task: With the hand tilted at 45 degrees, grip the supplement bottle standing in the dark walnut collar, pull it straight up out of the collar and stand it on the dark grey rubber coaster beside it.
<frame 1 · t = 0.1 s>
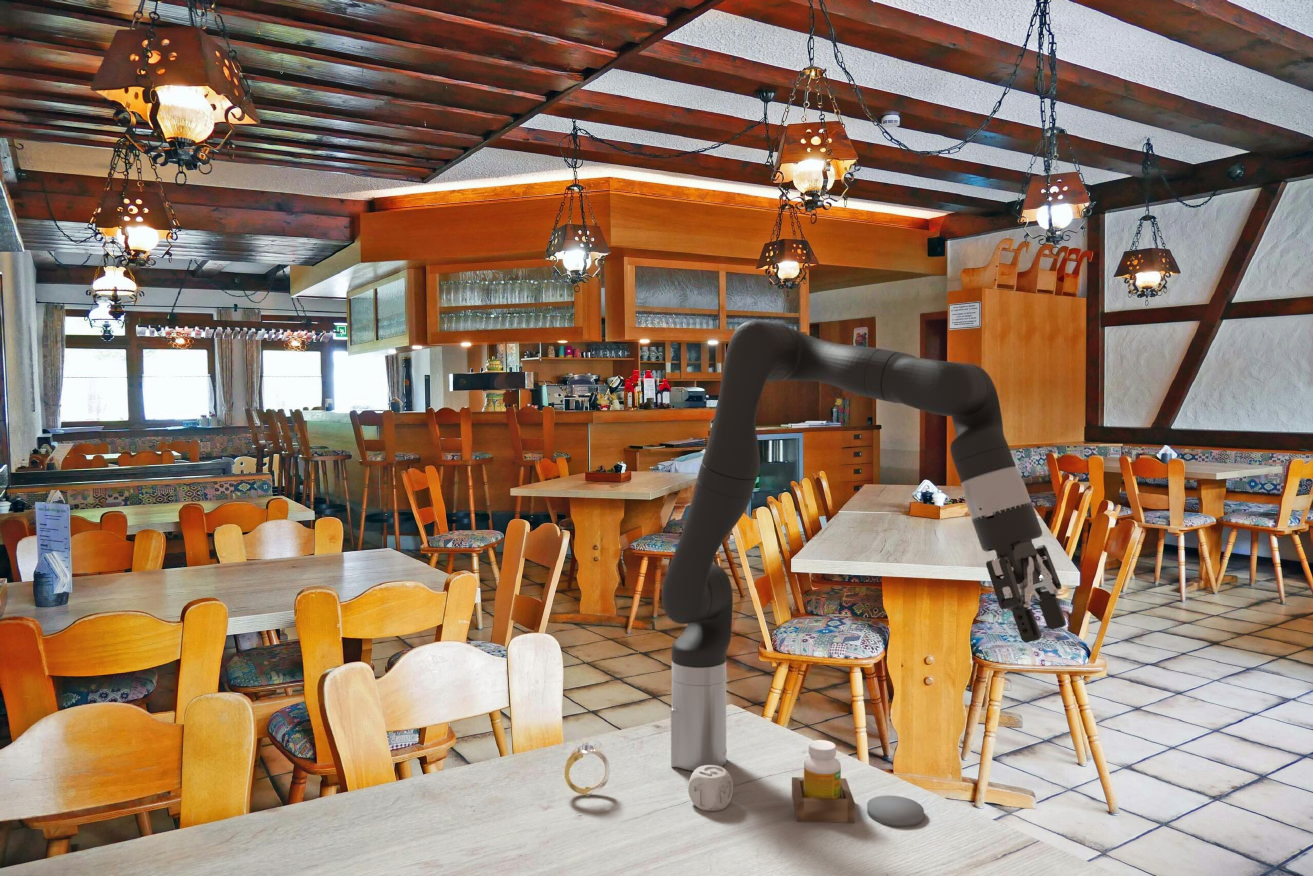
hand: (1045, 634, 109), 31 cm above the table, tool tilted 20°, fingers open, 8 cm apart
die: (710, 805, 133), on the table
supplement bottle: (822, 810, 131), resting in walnut collar
walnut collar: (822, 809, 131), on the table
rubber coaster: (895, 814, 129), on the table
ring: (587, 796, 136), on the table
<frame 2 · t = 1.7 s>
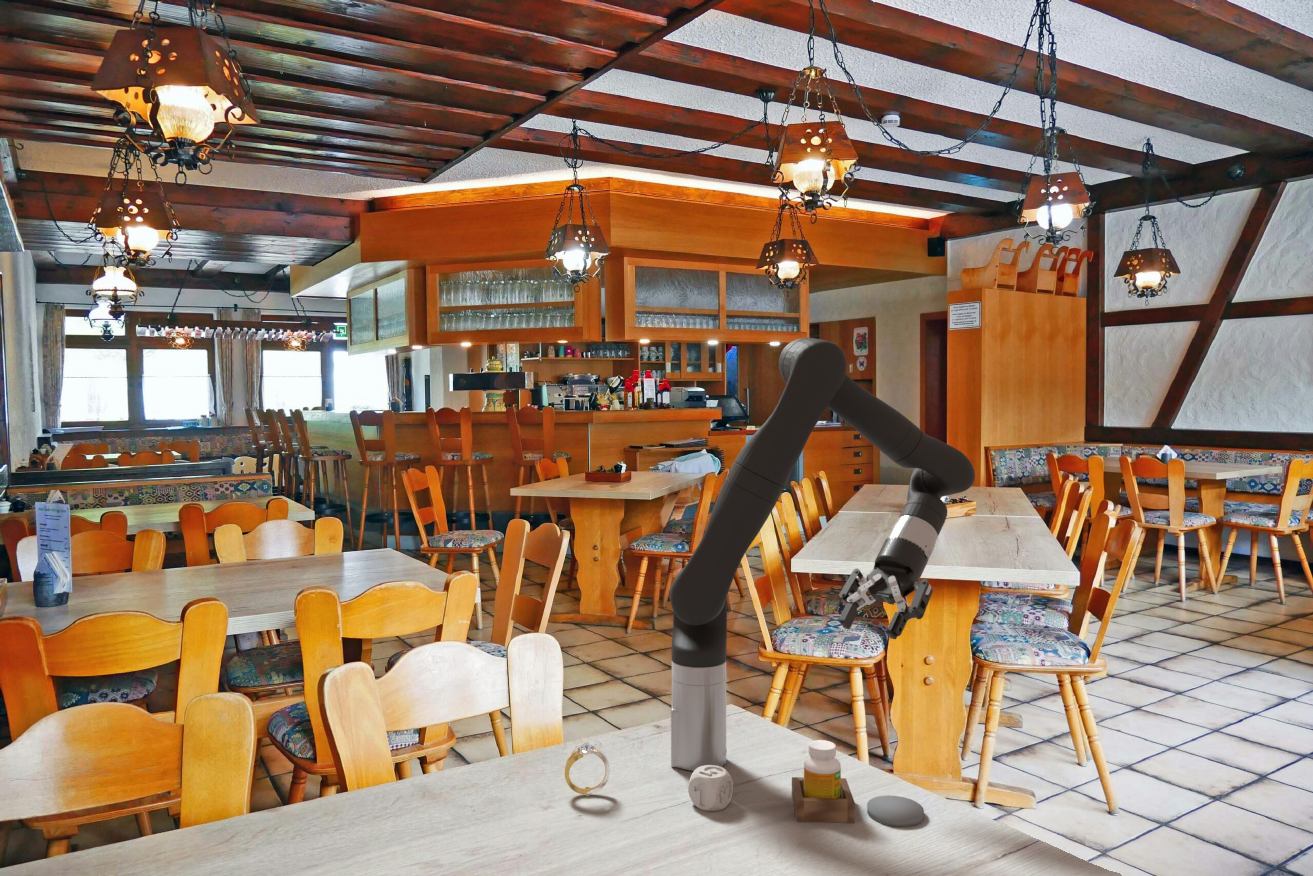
hand: (867, 631, 138), 25 cm above the table, tool tilted 45°, fingers open, 8 cm apart
nothing on the table moved.
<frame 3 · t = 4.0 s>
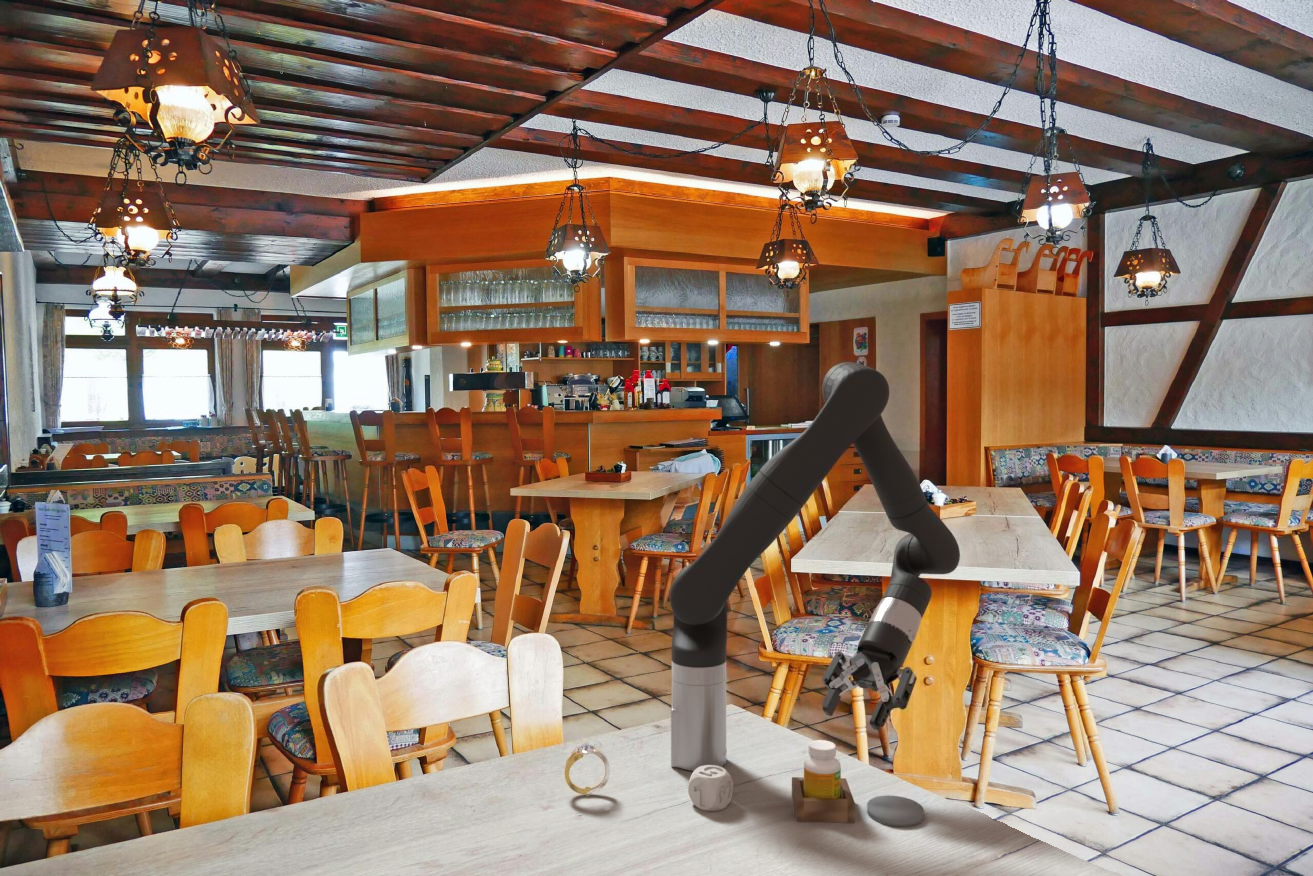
hand: (849, 720, 135), 12 cm above the table, tool tilted 45°, fingers open, 8 cm apart
nothing on the table moved.
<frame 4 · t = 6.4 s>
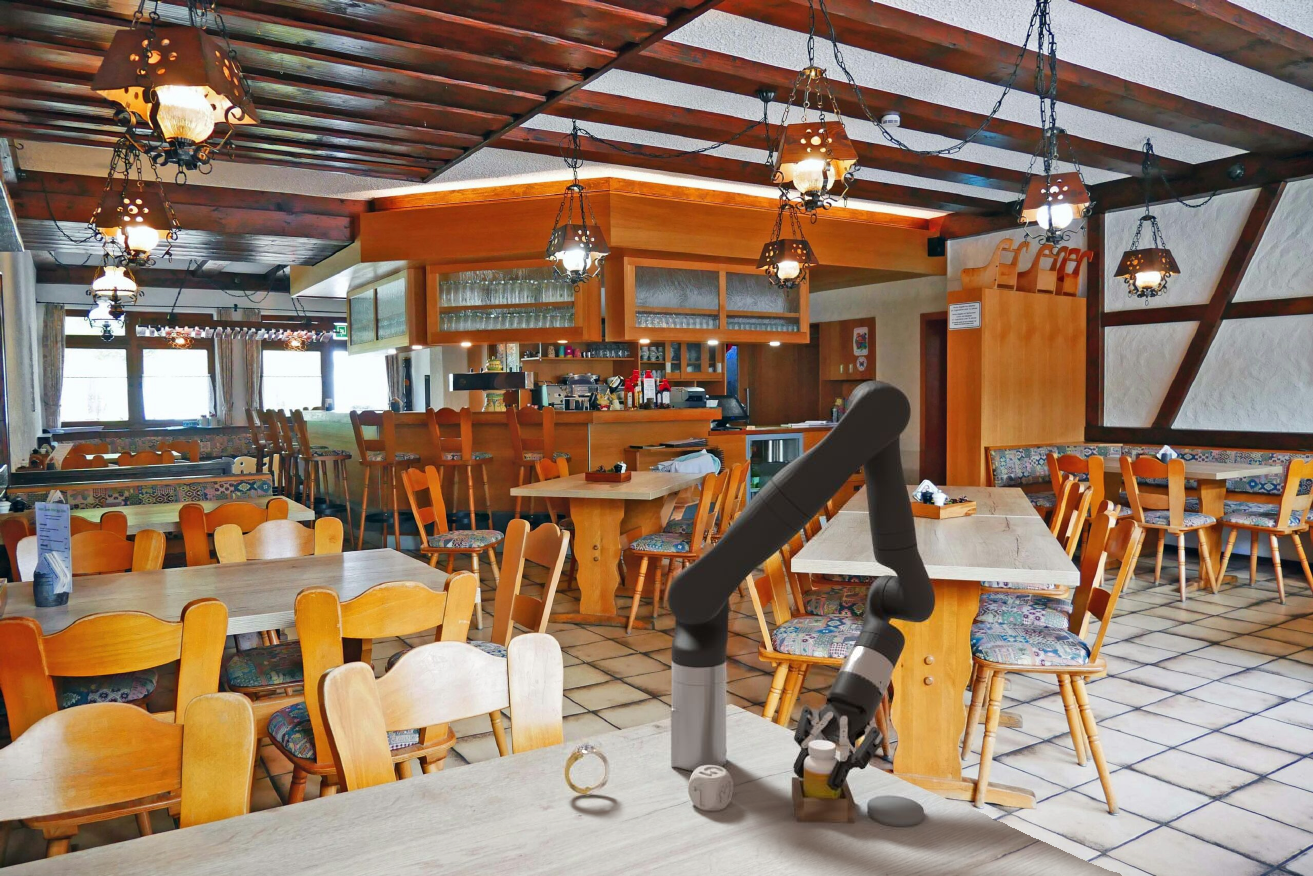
hand: (814, 781, 130), 5 cm above the table, tool tilted 45°, fingers closed on supplement bottle, 5 cm apart
supplement bottle: (822, 810, 131), resting in walnut collar, touching gripper
everything else where it was.
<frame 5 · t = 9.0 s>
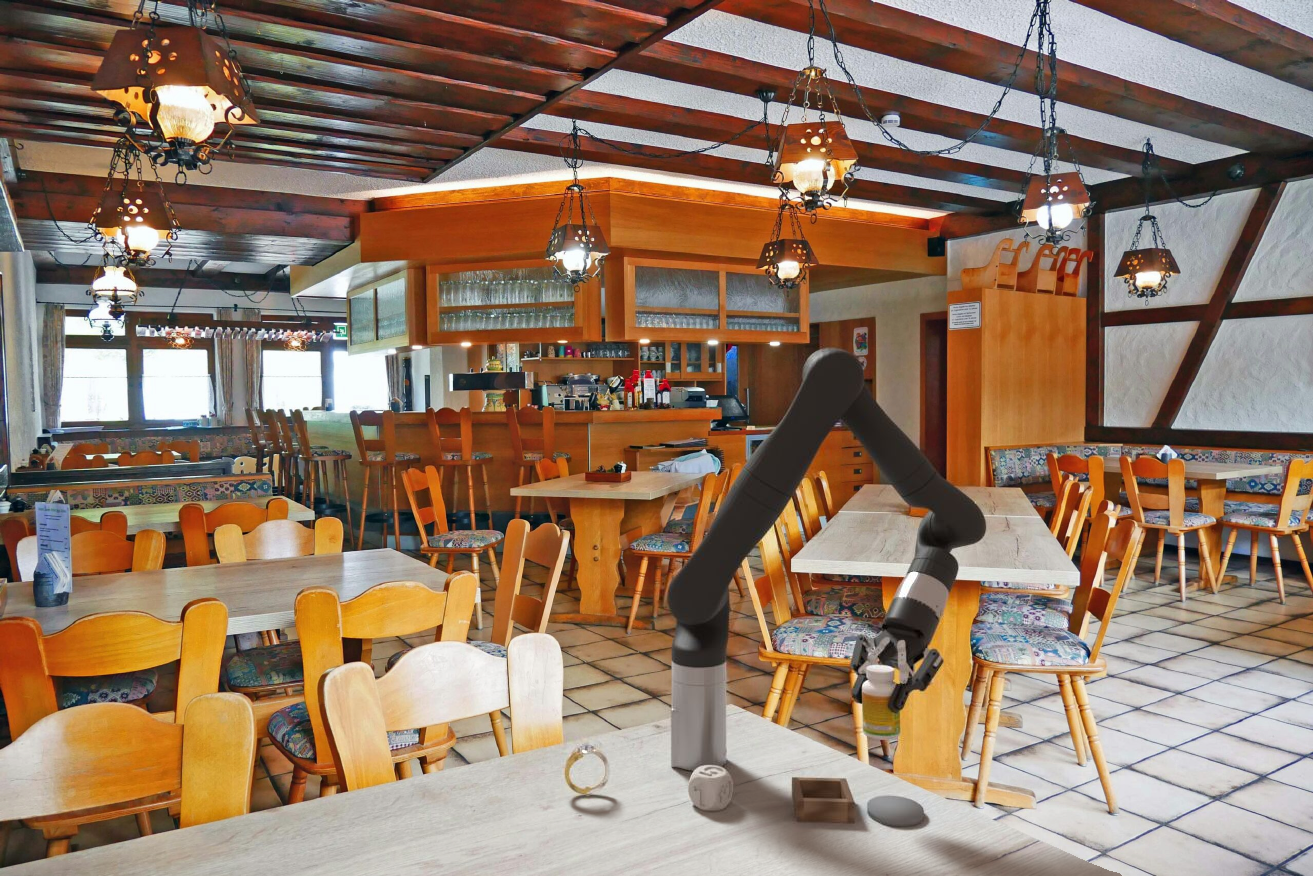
hand: (874, 705, 128), 16 cm above the table, tool tilted 45°, fingers closed on supplement bottle, 5 cm apart
supplement bottle: (881, 735, 129), point 12 cm above the table, touching gripper
everything else where it was.
when the fingers open (7 cm above the table, at t = 11.4 s): supplement bottle drops 1 cm, resting on rubber coaster.
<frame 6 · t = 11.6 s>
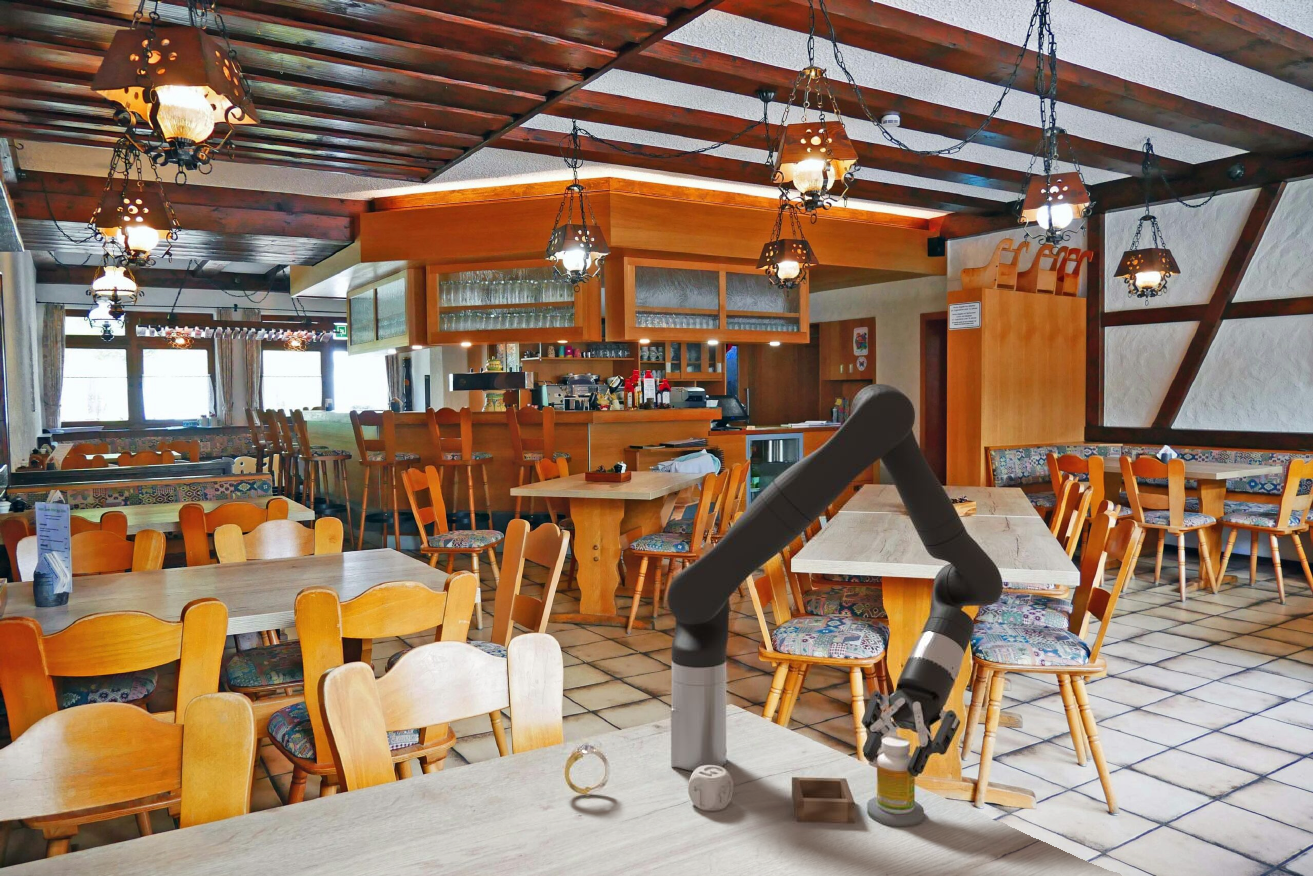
hand: (889, 766, 128), 8 cm above the table, tool tilted 45°, fingers open, 6 cm apart
supplement bottle: (895, 808, 129), point 1 cm above the table, touching rubber coaster
everything else where it was.
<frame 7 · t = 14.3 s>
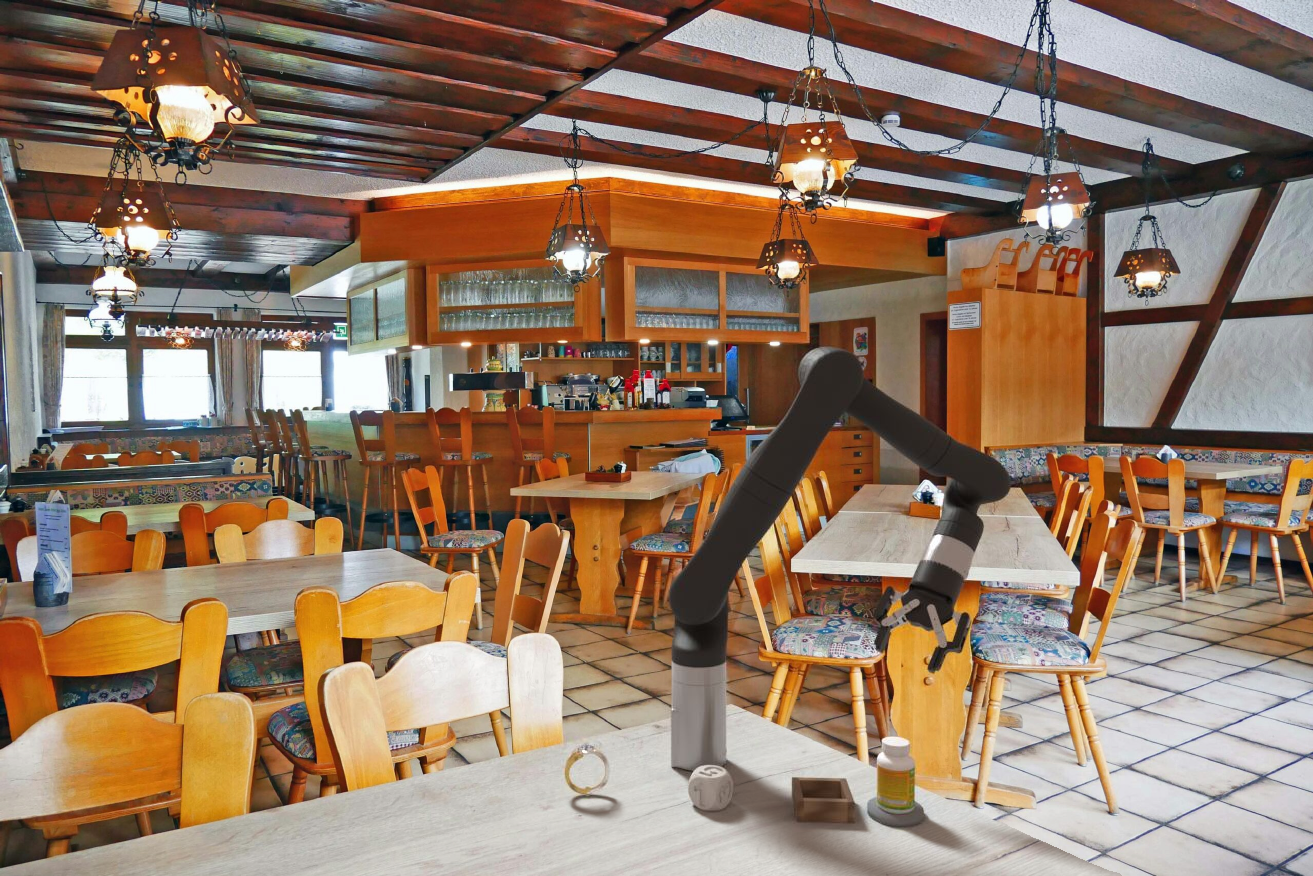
hand: (904, 661, 137), 20 cm above the table, tool tilted 35°, fingers open, 8 cm apart
nothing on the table moved.
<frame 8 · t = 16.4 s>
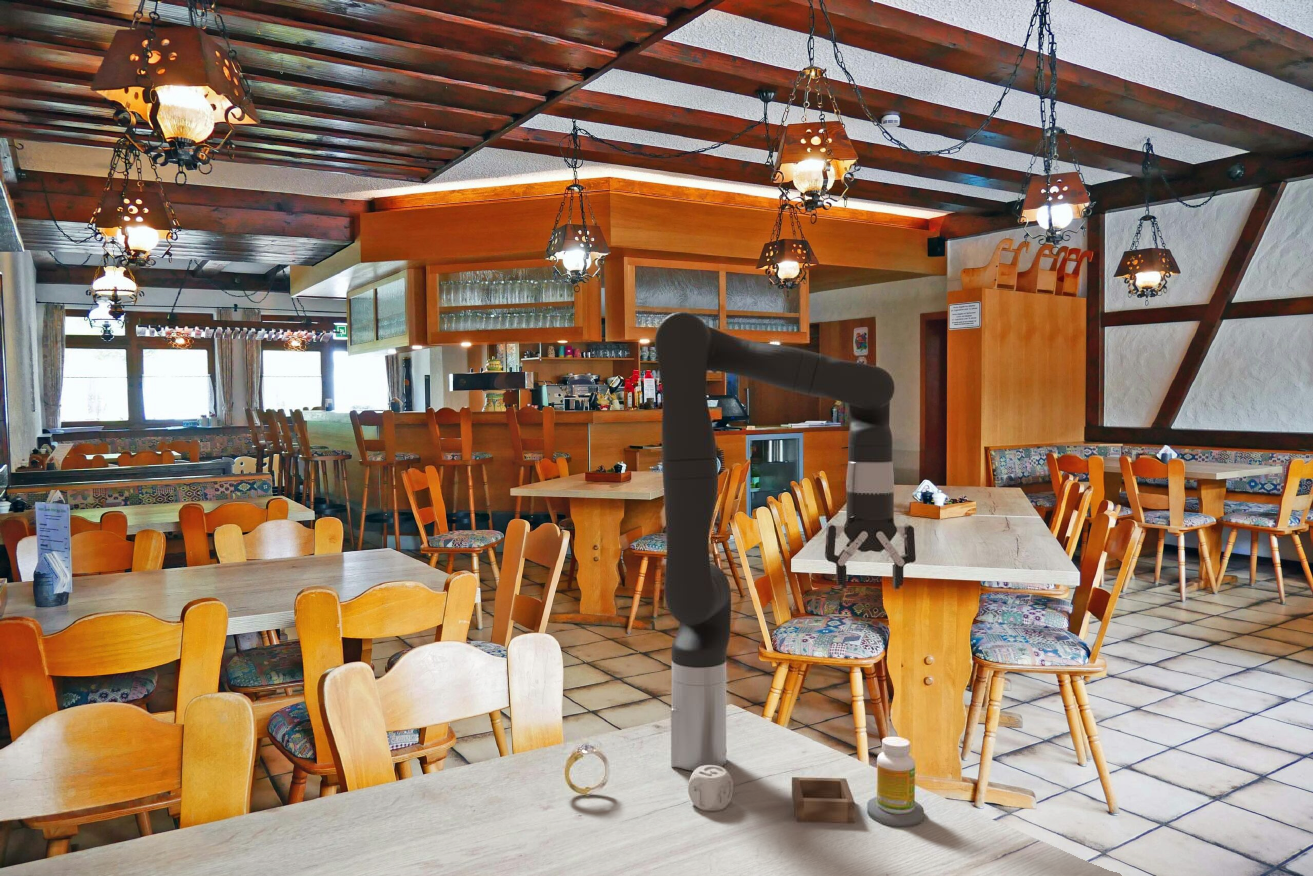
hand: (869, 588, 144), 30 cm above the table, tool pointing down, fingers open, 8 cm apart
nothing on the table moved.
at the end: supplement bottle 0.2 cm off-centre on the rubber coaster, point 0.8 cm above the rubber coaster's base; supplement bottle tilted 0°; the gripper is holding nothing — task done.
